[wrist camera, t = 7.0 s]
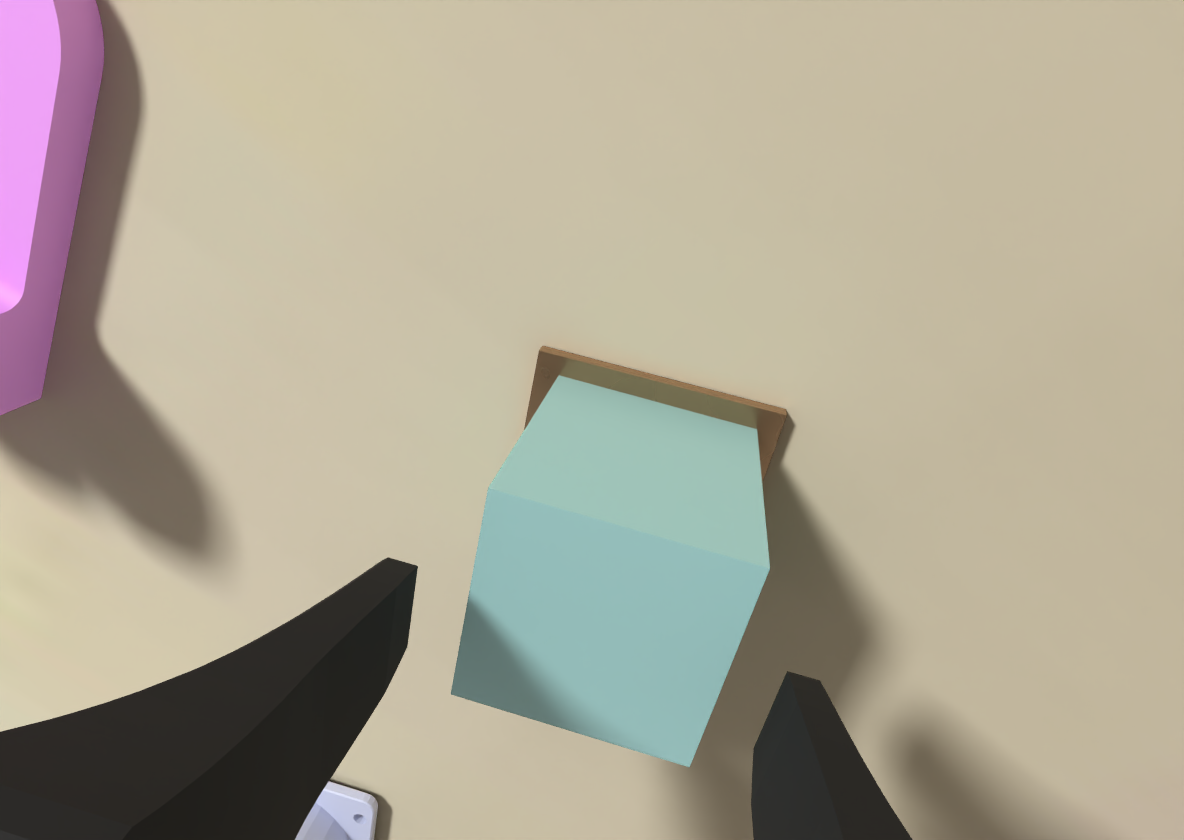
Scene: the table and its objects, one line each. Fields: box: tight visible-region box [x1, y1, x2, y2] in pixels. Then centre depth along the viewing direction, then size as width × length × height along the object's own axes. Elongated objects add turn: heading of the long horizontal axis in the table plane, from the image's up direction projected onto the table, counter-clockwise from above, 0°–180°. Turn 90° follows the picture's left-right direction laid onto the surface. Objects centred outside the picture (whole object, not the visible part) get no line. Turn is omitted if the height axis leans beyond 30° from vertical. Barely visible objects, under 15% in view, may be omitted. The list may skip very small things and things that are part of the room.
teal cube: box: [451, 375, 770, 767], centre depth 17 cm, size 5×5×6 cm
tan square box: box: [524, 346, 787, 483], centre depth 18 cm, size 6×6×4 cm
